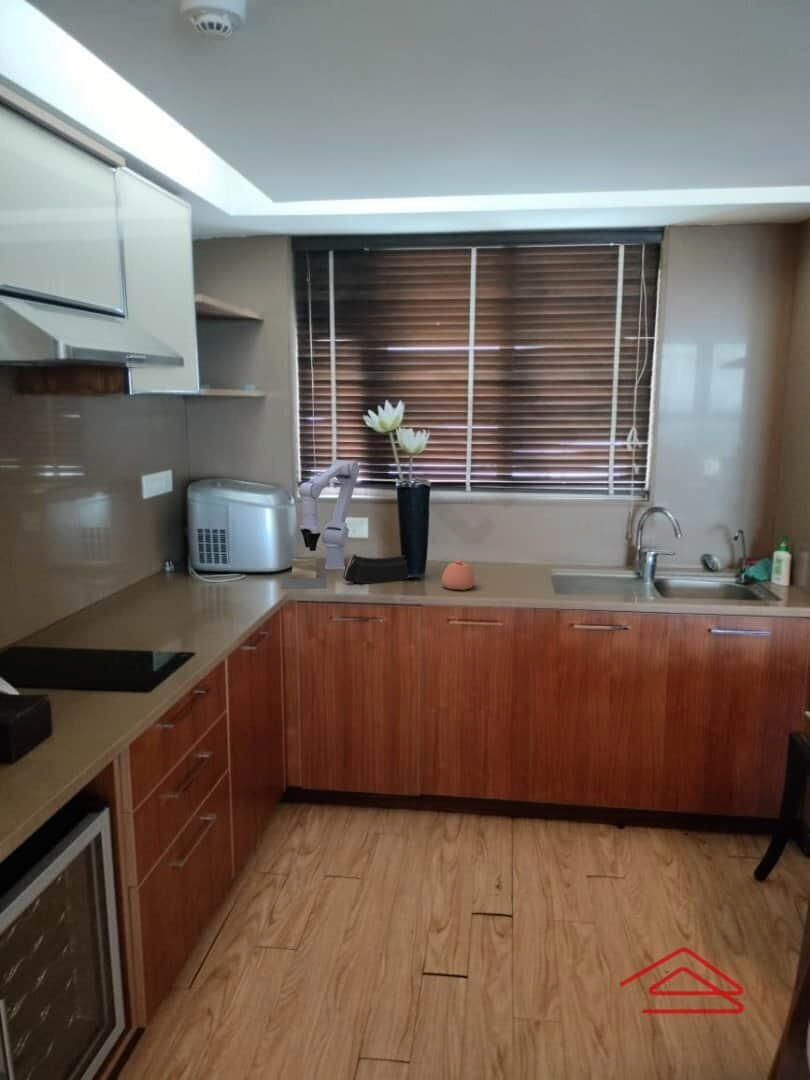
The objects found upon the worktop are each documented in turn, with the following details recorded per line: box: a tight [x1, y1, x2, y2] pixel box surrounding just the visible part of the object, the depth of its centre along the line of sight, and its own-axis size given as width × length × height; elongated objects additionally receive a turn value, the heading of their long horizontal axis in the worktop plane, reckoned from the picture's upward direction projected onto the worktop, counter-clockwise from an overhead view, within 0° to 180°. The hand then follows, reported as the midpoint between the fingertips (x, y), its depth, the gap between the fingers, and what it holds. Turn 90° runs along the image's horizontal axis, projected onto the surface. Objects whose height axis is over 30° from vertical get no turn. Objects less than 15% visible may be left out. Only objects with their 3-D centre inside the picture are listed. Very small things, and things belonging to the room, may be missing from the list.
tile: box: [291, 558, 317, 579], centre depth 282 cm, size 2×9×7 cm, turn 97°
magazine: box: [342, 554, 408, 585], centre depth 279 cm, size 17×3×30 cm
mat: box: [280, 574, 327, 590], centre depth 277 cm, size 22×16×1 cm
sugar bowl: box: [441, 559, 476, 591], centre depth 271 cm, size 12×14×10 cm
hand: (310, 549), depth 287 cm, fingers open, 7 cm apart
